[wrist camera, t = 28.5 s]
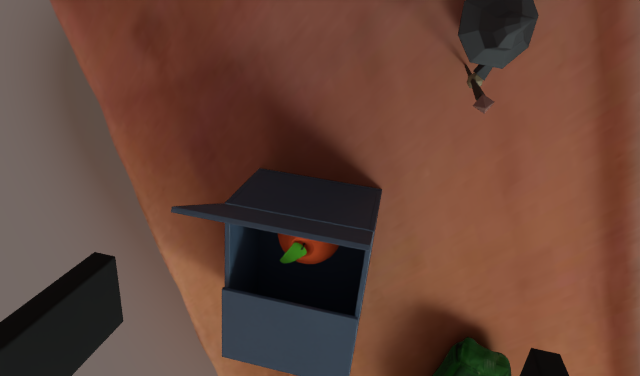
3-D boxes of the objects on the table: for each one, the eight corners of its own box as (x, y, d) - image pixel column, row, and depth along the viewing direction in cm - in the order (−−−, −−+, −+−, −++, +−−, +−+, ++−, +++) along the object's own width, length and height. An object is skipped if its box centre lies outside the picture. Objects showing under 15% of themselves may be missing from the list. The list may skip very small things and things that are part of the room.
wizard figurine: (445, -3, 36) (458, -10, 26) (513, -20, 35) (557, -35, 24) (455, 90, 39) (470, 119, 28) (518, 78, 38) (560, 104, 27)
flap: (221, 207, 38) (222, 203, 38) (372, 236, 35) (373, 231, 35) (170, 212, 29) (171, 206, 29) (369, 251, 26) (370, 245, 26)
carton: (259, 167, 47) (221, 206, 37) (382, 189, 45) (373, 235, 35) (254, 298, 54) (221, 357, 45) (359, 321, 52) (346, 388, 43)
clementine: (312, 258, 49) (297, 295, 43) (270, 219, 48) (248, 250, 42) (359, 219, 46) (350, 253, 40) (315, 176, 45) (299, 204, 39)
